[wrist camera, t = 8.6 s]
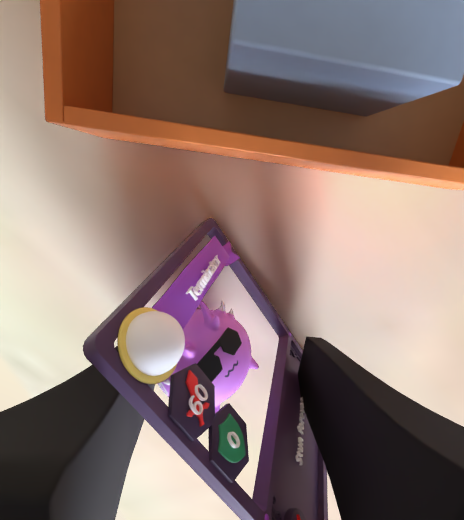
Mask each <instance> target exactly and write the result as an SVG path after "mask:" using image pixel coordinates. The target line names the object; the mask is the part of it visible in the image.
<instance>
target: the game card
mask: <svg viewBox="0 0 464 520" xmlns="http://www.w3.org/2000/svg"><path fill="white" fill-rule="evenodd" d="M206 235H208V236H209V237H210V238H211V240H210V241H209V242H208V243H207V245H206V246H205V247H204V248H203V249H202V250H201V251H200V252H199V253H198V254H197V255H196V256H195V257H194V259H193V260H192V261H191V262H190V263H189V264H188V265H187V266H186V267H185V269H184V270H183V271H182V272H181V273H180V275H179V276H178V277H177V279H176V280H175V281H174V282H173V284H172V285H171V286H170V287H169V289H168V290H167V291H166V292H165V293H164V295H163V296H162V297H161V298H160V299H159V300H158V302H157V303H156V304H155V305H154V306H153V307H152V308H147V307H144V306H145V305H146V304H147V303H148V301H149V300H150V299H151V298H152V297H153V296H154V295H155V293H156V292H157V291H158V290H159V289H160V288H161V286H162V285H163V284H164V283H165V282H166V281H167V280H168V278H169V277H170V276H171V275H172V274H173V273H174V271H175V270H176V269H177V268H178V267H179V266H180V265H181V263H182V262H183V261H184V260H185V259H186V258H187V257H188V255H189V254H190V253H191V252H192V251H193V250H194V248H195V247H196V246H197V245H198V244H199V243H200V242H201V240H202V239H203V238H204V237H205V236H206ZM228 265H229V266H230V267H231V268H232V270H233V271H234V273H235V274H236V276H237V277H238V279H239V280H240V281H241V283H242V284H243V286H244V287H245V289H246V290H247V292H248V293H249V294H250V296H251V297H252V299H253V300H254V302H255V303H256V304H257V306H258V307H259V309H260V310H261V312H262V313H263V315H264V316H265V317H266V319H267V320H268V322H269V323H270V325H271V326H272V327H273V329H274V330H275V332H276V333H277V335H278V336H279V343H278V349H277V355H276V361H275V367H274V373H273V379H272V385H271V391H270V397H269V403H268V409H267V415H266V421H265V427H264V433H263V439H262V445H261V450H260V456H259V462H258V468H257V474H256V480H255V486H254V492H253V498H252V499H251V498H250V497H249V495H248V494H247V493H246V492H245V491H244V490H243V489H242V488H241V487H240V486H239V484H238V483H237V482H236V481H235V479H236V477H237V476H238V475H239V473H240V472H241V471H242V469H243V468H244V467H245V465H246V464H247V463H248V461H249V457H248V444H247V430H246V423H245V422H244V421H243V420H242V418H241V417H240V416H239V415H238V414H237V412H236V411H235V410H234V409H233V408H232V406H231V405H230V404H226V405H225V406H223V407H222V408H221V409H220V403H221V402H223V401H225V400H226V399H228V398H229V397H230V396H231V395H233V394H234V393H235V392H236V391H237V390H238V388H239V387H240V386H241V384H242V383H243V381H244V379H245V377H246V375H247V372H248V370H249V368H250V369H258V367H259V366H258V364H257V363H256V362H255V360H254V359H253V358H252V356H251V346H250V341H249V337H248V335H247V333H246V331H245V329H244V328H243V326H242V325H241V324H240V323H239V322H238V321H236V320H235V318H234V315H233V311H232V309H231V310H230V312H229V313H226V312H225V304H224V302H223V300H222V302H221V307H220V308H218V309H216V310H209V308H208V307H207V305H206V304H205V303H204V302H203V301H202V299H203V297H204V296H205V294H206V292H207V291H208V289H209V288H210V286H211V285H212V284H213V282H214V281H215V279H216V278H217V277H218V275H219V274H220V272H221V271H222V269H223V268H224V266H228ZM198 306H200V307H201V309H197V307H198ZM117 337H118V351H119V353H118V352H117V350H116V349H115V348H114V341H115V340H116V338H117ZM83 352H84V355H85V357H86V358H87V359H88V360H89V361H90V362H91V363H92V364H93V366H94V367H95V368H96V369H97V370H98V371H99V372H100V373H101V374H102V375H103V376H104V377H105V378H106V379H107V380H108V381H109V382H110V383H111V384H112V385H113V386H114V387H115V389H116V390H117V391H118V392H119V393H120V394H121V395H122V396H123V397H124V398H125V399H126V400H127V401H128V402H129V403H130V404H131V405H132V406H133V407H134V408H135V409H136V410H137V412H138V413H139V414H140V415H141V416H142V417H143V418H144V419H145V420H146V421H147V422H148V423H149V424H150V425H151V426H152V427H153V428H154V429H155V430H156V431H157V432H158V433H159V434H160V436H161V437H162V438H163V439H164V440H165V441H166V442H167V443H168V444H169V445H170V446H171V447H172V448H173V449H174V450H175V451H176V452H177V453H178V454H179V455H180V456H181V457H182V459H183V460H184V461H185V462H186V463H187V464H188V465H189V466H190V467H191V468H192V469H193V470H194V471H195V472H196V473H197V474H198V475H199V476H200V477H201V478H202V479H203V480H204V482H205V483H206V484H207V485H208V486H209V487H210V488H211V489H212V490H213V491H214V492H215V493H216V494H217V495H218V496H219V497H220V498H221V499H222V500H223V501H224V502H225V503H226V504H227V506H228V507H229V508H230V509H231V510H232V511H233V512H234V513H235V514H236V515H237V516H238V517H239V518H240V519H241V520H328V504H327V469H326V466H325V463H324V460H323V458H322V455H321V453H320V450H319V448H318V445H317V443H316V440H315V437H314V435H313V432H312V430H311V427H310V425H309V422H308V419H307V417H306V414H305V411H304V409H303V408H304V403H303V397H301V395H300V387H299V380H298V370H299V366H300V362H301V357H302V353H303V350H302V348H301V347H300V346H299V344H298V343H297V341H296V340H295V338H294V337H293V335H292V334H291V332H290V331H289V329H288V328H287V326H286V325H285V323H284V322H283V320H282V319H281V317H280V316H279V315H278V313H277V312H276V310H275V309H274V307H273V306H272V304H271V303H270V301H269V300H268V298H267V297H266V295H265V294H264V292H263V291H262V289H261V288H260V286H259V285H258V283H257V282H256V281H255V279H254V278H253V276H252V275H251V273H250V272H249V270H248V269H247V267H246V266H245V264H244V263H243V261H242V260H241V258H240V257H239V255H238V254H237V252H236V251H235V250H234V248H233V247H232V245H231V243H230V241H228V239H227V238H226V236H225V235H224V233H223V232H222V230H221V229H220V227H219V226H218V224H217V223H216V222H215V220H214V219H212V218H209V219H207V220H206V221H204V222H202V223H201V224H200V225H199V226H198V227H197V228H196V229H195V230H194V231H193V232H192V233H191V234H190V235H189V236H188V237H187V238H186V239H185V240H184V241H183V242H182V243H181V244H180V245H179V246H178V247H177V248H176V249H175V250H174V251H173V252H172V253H171V254H170V255H169V256H168V257H167V258H166V259H165V260H164V261H163V262H162V263H161V264H160V265H159V266H158V267H157V268H156V269H155V270H154V271H153V272H152V273H151V274H150V275H149V276H148V277H147V278H146V279H145V280H144V281H143V282H142V283H141V284H140V285H139V286H138V287H137V288H136V289H135V290H134V291H133V292H132V293H131V294H130V295H129V296H128V297H127V298H126V299H125V300H124V301H123V302H122V303H121V305H120V306H119V307H118V308H117V309H116V310H115V311H114V312H113V313H112V314H111V315H110V316H109V317H108V318H107V319H106V320H105V321H104V322H103V323H102V324H101V325H100V326H99V327H98V328H97V329H96V330H95V331H94V332H93V333H92V334H91V335H90V336H89V337H88V338H87V339H86V340H85V342H84V345H83ZM157 383H158V385H159V386H160V388H161V389H162V390H163V392H164V393H165V394H166V395H167V396H168V397H169V407H168V406H167V405H166V404H165V403H164V402H163V401H162V400H161V399H160V398H159V397H158V396H157V394H156V393H155V392H154V391H153V390H152V389H151V388H150V387H149V386H148V385H147V384H157ZM208 428H209V452H208V450H207V449H206V448H205V447H204V446H203V445H202V444H201V443H200V442H199V441H198V439H197V438H198V437H199V436H200V435H201V434H202V433H203V432H204V431H206V430H207V429H208Z"/></svg>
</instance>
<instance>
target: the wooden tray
mask: <svg viewBox="0 0 464 520" xmlns="http://www.w3.org/2000/svg"><path fill="white" fill-rule="evenodd" d="M233 1H234V0H40V13H41V35H42V57H43V79H44V101H45V120H46V121H47V122H49V123H53V124H56V125H60V126H63V127H67V128H71V129H74V130H78V131H81V132H85V133H88V134H92V135H95V136H99V137H102V138H109V139H115V140H122V141H129V142H136V143H142V144H149V145H156V146H163V147H169V148H176V149H183V150H190V151H196V152H203V153H210V154H217V155H223V156H230V157H237V158H244V159H250V160H257V161H264V162H271V163H277V164H284V165H291V166H298V167H304V168H311V169H318V170H325V171H331V172H338V173H345V174H352V175H358V176H365V177H372V178H379V179H385V180H392V181H399V182H406V183H412V184H419V185H426V186H433V187H440V188H446V189H457V190H464V75H463V78H462V81H461V82H460V84H459V85H457V86H454V87H451V88H448V89H445V90H442V91H439V92H437V93H434V94H431V95H428V96H425V97H422V98H419V99H416V100H413V101H410V102H407V103H404V104H401V105H399V106H396V107H393V108H390V109H387V110H384V111H381V112H378V113H375V114H372V115H369V116H360V115H354V114H348V113H342V112H337V111H331V110H325V109H319V108H313V107H307V106H301V105H295V104H290V103H284V102H278V101H272V100H266V99H260V98H254V97H248V96H243V95H237V94H231V93H226V92H224V80H225V71H226V62H227V53H228V45H229V36H230V27H231V18H232V9H233Z"/></svg>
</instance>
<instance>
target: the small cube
mask: <svg viewBox="0 0 464 520" xmlns="http://www.w3.org/2000/svg"><path fill="white" fill-rule="evenodd" d="M463 75H464V0H234V1H233V9H232V18H231V27H230V36H229V45H228V53H227V62H226V71H225V80H224V92H226V93H231V94H237V95H243V96H248V97H254V98H260V99H266V100H272V101H278V102H284V103H290V104H295V105H301V106H307V107H313V108H319V109H325V110H331V111H337V112H342V113H348V114H354V115H360V116H369V115H372V114H375V113H378V112H381V111H384V110H387V109H390V108H393V107H396V106H399V105H401V104H404V103H407V102H410V101H413V100H416V99H419V98H422V97H425V96H428V95H431V94H434V93H437V92H439V91H442V90H445V89H448V88H451V87H454V86H457V85H459V84H460V82H461V81H462V78H463Z"/></svg>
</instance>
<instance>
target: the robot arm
mask: <svg viewBox="0 0 464 520" xmlns="http://www.w3.org/2000/svg"><path fill="white" fill-rule="evenodd" d="M115 349H116V350H117V352H118V353H119V351H118V346H117V347H115ZM298 380H299V387H300V395H301V397H303V403H304V408H303V409H304V411H305V414H306V417H307V419H308V422H309V425H310V427H311V430H312V432H313V435H314V437H315V440H316V443H317V445H318V448H319V450H320V453H321V455H322V458H323V460H324V463H325V466H326V469H327V472H328V474H329V477H330V481H331V484H332V488H333V491H334V495H335V498H336V502H337V505H338V509H339V512H340V516H341V520H464V427H463V426H461V425H459V424H457V423H455V422H453V421H451V420H449V419H447V418H445V417H443V416H441V415H439V414H437V413H435V412H433V411H431V410H429V409H427V408H425V407H424V406H422V405H420V404H418V403H417V402H415V401H413V400H411V399H410V398H408V397H406V396H405V395H403V394H401V393H400V392H398V391H396V390H395V389H393V388H392V387H390V386H389V385H387V384H386V383H384V382H383V381H381V380H380V379H378V378H377V377H375V376H374V375H372V374H371V373H370V372H368V371H367V370H365V369H364V368H363V367H361V366H360V365H358V364H357V363H356V362H354V361H353V360H352V359H350V358H349V357H348V356H346V355H345V354H344V353H342V352H341V351H340V350H338V349H337V348H336V347H334V346H333V345H331V344H330V343H328V342H327V341H325V340H324V339H322V338H315V337H306V341H305V345H304V349H303V353H302V357H301V362H300V366H299V370H298ZM147 385H148V386H149V387H150V388H151V389H152V390H153V391H154V386H155V384H147ZM143 421H144V418H143V417H142V416H141V415H140V414H139V413H138V412H137V410H136V409H135V408H134V407H133V406H132V405H131V404H130V403H129V402H128V401H127V400H126V399H125V398H124V397H123V396H122V395H121V394H120V393H119V392H118V391H117V390H116V389H115V387H114V386H113V385H112V384H111V383H110V382H109V381H108V380H107V379H106V378H105V377H104V376H103V375H102V374H101V373H100V372H99V371H98V370H97V369H96V368H95V367H94V366H93V365H91V366H90V367H88V368H87V369H85V370H84V371H82V372H80V373H79V374H77V375H75V376H74V377H72V378H70V379H69V380H67V381H65V382H63V383H61V384H59V385H57V386H55V387H54V388H52V389H50V390H48V391H46V392H44V393H42V394H40V395H38V396H36V397H34V398H32V399H29V400H27V401H25V402H23V403H21V404H18V405H16V406H14V407H12V408H9V409H7V410H4V411H2V412H0V520H115V517H116V513H117V509H118V505H119V501H120V497H121V493H122V489H123V485H124V481H125V477H126V473H127V469H128V466H129V463H130V459H131V456H132V453H133V450H134V447H135V445H136V442H137V439H138V436H139V433H140V430H141V427H142V424H143Z"/></svg>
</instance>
